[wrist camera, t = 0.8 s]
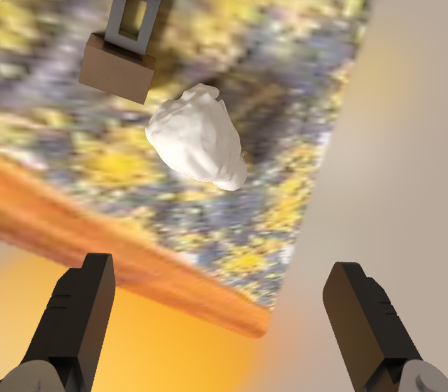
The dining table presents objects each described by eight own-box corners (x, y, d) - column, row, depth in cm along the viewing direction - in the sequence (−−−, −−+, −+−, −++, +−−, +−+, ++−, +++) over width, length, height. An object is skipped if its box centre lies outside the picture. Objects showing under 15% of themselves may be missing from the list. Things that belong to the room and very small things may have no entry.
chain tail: (84, 69, 27) (78, 82, 25) (105, -35, 22) (100, -29, 21) (145, 91, 29) (143, 104, 27) (175, -1, 24) (176, 8, 23)
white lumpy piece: (217, 113, 21) (279, 207, 30) (200, 54, 27) (256, 148, 36) (138, 157, 23) (218, 235, 31) (137, 92, 29) (205, 173, 37)
